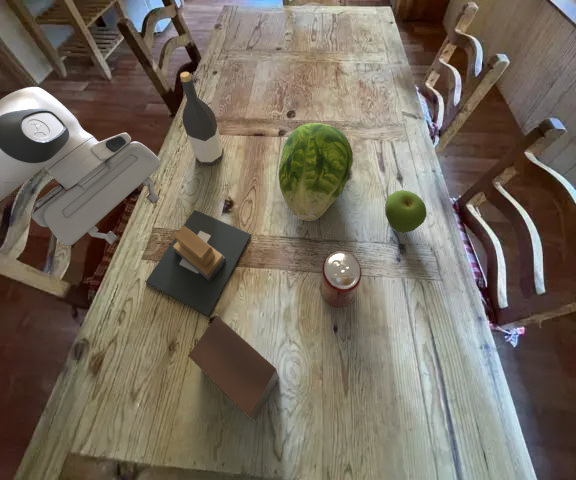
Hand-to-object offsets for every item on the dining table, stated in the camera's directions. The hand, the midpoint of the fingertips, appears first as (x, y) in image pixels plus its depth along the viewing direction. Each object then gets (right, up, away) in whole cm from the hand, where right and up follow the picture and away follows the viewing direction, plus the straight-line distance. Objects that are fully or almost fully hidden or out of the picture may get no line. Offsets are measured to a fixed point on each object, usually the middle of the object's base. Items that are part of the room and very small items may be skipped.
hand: (136, 220), depth 64 cm
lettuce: (+35, 0, +25) cm, 44 cm away
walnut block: (+20, -27, -1) cm, 34 cm away
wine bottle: (+6, +6, +34) cm, 35 cm away
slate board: (+9, -13, +13) cm, 21 cm away
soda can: (+39, -18, +8) cm, 43 cm away
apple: (+55, -8, +17) cm, 58 cm away
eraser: (+9, -13, +13) cm, 20 cm away
